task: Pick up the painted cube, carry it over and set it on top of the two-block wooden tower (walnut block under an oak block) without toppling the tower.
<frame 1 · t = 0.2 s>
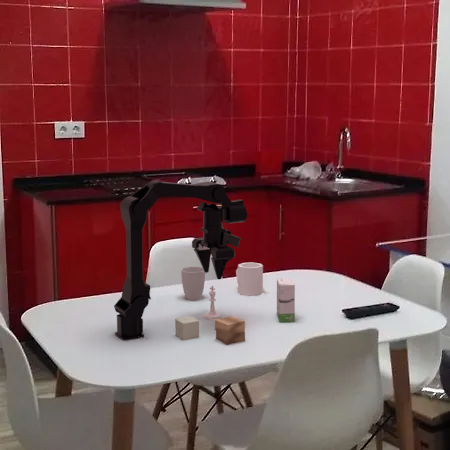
hand: (212, 275, 228), 14 cm above the table, fingers open, 9 cm apart
chess piece: (212, 318, 235), on the table
cup: (193, 298, 256), on the table
cube: (187, 336, 217), on the table
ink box: (285, 318, 234), on the table
tower base: (230, 340, 214), on the table, touching tower top
tower top: (229, 330, 214), point 3 cm above the table, touching tower base
mug: (247, 292, 264), on the table
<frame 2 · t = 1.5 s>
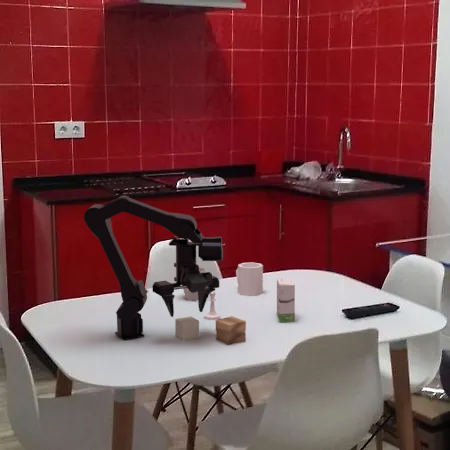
hand: (186, 314, 216), 7 cm above the table, fingers open, 9 cm apart
nothing on the table moved.
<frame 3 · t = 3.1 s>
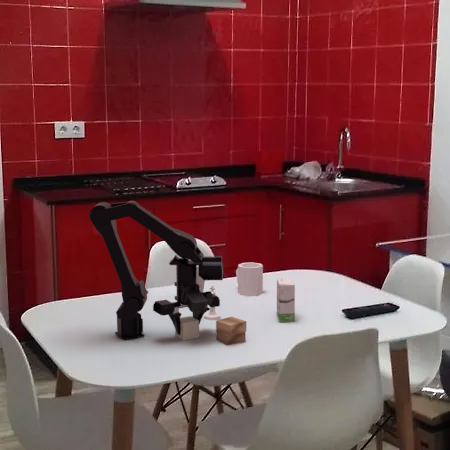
hand: (187, 332, 217), 1 cm above the table, fingers closed on cube, 5 cm apart
cube: (187, 336, 217), on the table, touching gripper
everything else where it was.
when the fingers open (8 cm above the table, at t = 7.1 s): cube drops 1 cm, resting on tower top.
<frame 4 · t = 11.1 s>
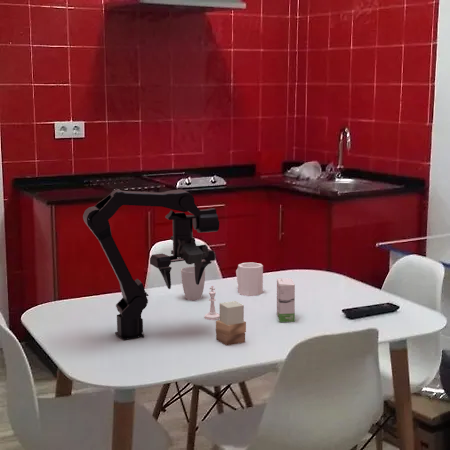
hand: (183, 286, 221), 13 cm above the table, fingers open, 9 cm apart
cube: (231, 321, 212), point 6 cm above the table, touching tower top
tower top: (230, 331, 213), point 3 cm above the table, touching cube, tower base
everything else where it was.
at the end: cube 0.2 cm off-centre on the tower base, point 6.0 cm above the tower base's base; cube tilted 0°; tower top moved 0.7 cm from its start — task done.
